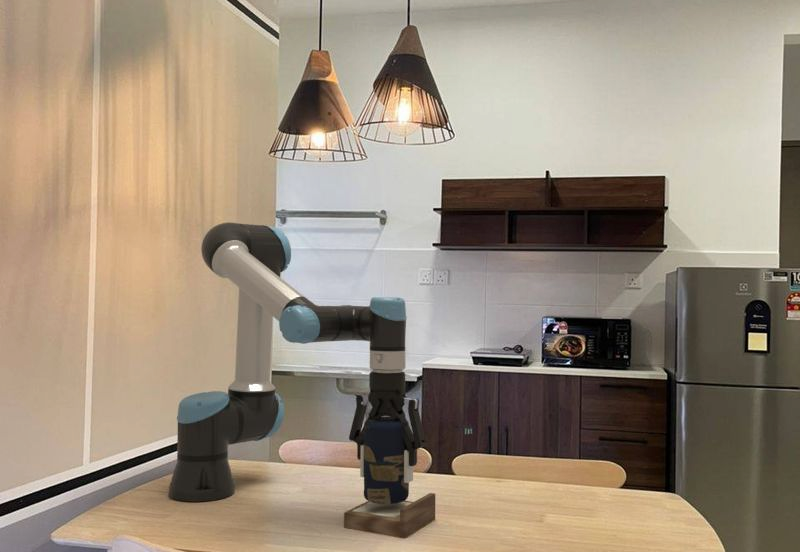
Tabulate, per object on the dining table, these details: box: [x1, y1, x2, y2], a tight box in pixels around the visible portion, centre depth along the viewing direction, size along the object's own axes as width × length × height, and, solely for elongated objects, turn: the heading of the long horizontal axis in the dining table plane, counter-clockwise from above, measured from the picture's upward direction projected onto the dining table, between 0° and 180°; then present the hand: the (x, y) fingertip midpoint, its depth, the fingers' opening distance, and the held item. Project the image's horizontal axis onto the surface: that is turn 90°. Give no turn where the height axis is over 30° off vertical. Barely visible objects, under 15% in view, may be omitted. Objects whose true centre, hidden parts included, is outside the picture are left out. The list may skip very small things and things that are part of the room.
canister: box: [363, 415, 410, 504], centre depth 154 cm, size 10×10×18 cm
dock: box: [343, 492, 436, 539], centre depth 153 cm, size 14×14×5 cm
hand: (386, 478), depth 154 cm, fingers closed on canister, 10 cm apart
